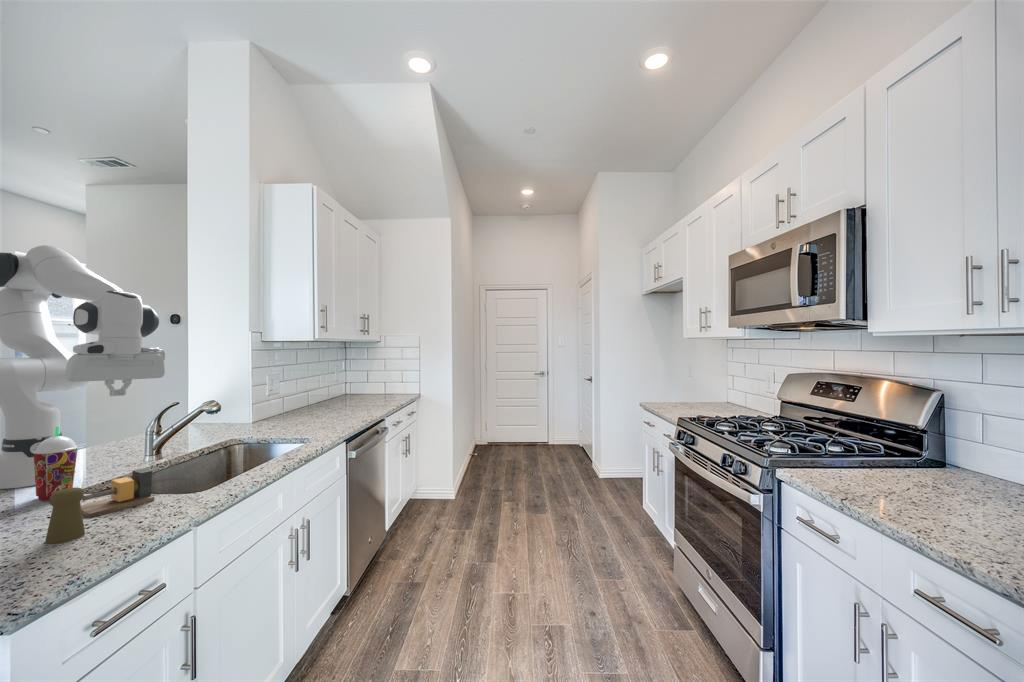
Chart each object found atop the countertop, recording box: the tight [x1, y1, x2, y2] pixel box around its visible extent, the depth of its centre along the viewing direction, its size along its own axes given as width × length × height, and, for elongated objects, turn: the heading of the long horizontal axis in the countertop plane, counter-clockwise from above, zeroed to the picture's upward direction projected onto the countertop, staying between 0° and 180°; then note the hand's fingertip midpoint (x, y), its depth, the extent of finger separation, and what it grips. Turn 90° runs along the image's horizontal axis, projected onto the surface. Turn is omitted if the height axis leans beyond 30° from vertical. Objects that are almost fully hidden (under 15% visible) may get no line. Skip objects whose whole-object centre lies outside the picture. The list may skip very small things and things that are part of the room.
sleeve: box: [110, 476, 134, 502], centre depth 108 cm, size 5×3×5 cm, turn 63°
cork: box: [44, 487, 86, 546], centre depth 89 cm, size 6×6×11 cm
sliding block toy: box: [80, 467, 155, 518], centre depth 107 cm, size 9×13×8 cm
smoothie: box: [33, 426, 79, 502], centre depth 112 cm, size 8×8×20 cm
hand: (117, 395), depth 112 cm, fingers closed
